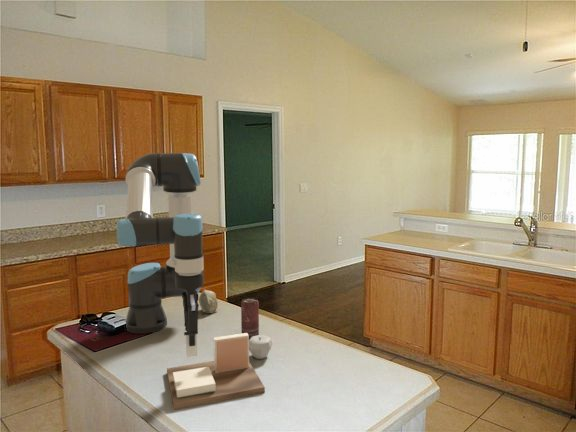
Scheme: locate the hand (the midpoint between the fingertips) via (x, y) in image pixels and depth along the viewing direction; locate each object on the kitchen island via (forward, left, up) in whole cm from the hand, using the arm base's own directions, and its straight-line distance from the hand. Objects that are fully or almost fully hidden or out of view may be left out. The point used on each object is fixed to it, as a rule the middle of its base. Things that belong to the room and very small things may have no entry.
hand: (191, 355), depth 121 cm
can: (-26, +24, -10) cm, 37 cm away
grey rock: (-58, +15, -10) cm, 61 cm away
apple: (-11, +23, -10) cm, 27 cm away
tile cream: (-3, +12, -8) cm, 15 cm away
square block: (-2, 0, -7) cm, 7 cm away
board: (0, +6, -9) cm, 11 cm away
